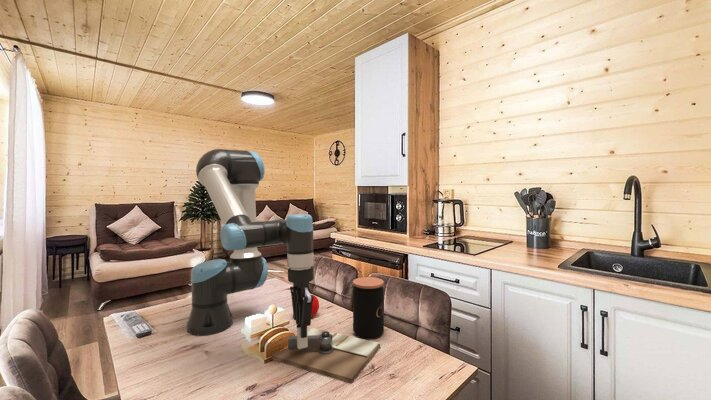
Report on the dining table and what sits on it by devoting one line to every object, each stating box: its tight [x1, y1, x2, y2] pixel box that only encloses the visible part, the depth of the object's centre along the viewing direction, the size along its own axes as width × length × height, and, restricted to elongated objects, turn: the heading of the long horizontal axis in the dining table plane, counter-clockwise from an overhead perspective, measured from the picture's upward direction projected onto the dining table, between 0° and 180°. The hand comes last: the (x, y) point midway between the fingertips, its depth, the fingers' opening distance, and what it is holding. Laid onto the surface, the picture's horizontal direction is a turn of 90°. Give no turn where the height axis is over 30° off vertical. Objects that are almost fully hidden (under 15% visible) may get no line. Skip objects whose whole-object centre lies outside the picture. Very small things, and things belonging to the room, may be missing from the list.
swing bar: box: [287, 330, 332, 351], centre depth 96 cm, size 13×4×4 cm, turn 93°
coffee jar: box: [352, 276, 385, 340], centre depth 110 cm, size 11×11×18 cm
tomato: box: [311, 294, 320, 317], centre depth 125 cm, size 9×10×8 cm
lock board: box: [271, 327, 381, 384], centre depth 96 cm, size 26×20×2 cm
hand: (302, 347), depth 94 cm, fingers closed
